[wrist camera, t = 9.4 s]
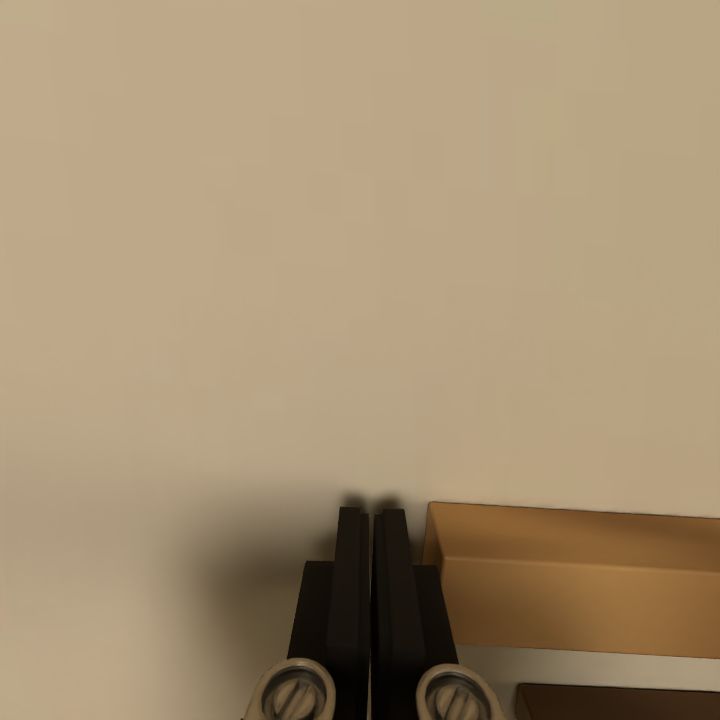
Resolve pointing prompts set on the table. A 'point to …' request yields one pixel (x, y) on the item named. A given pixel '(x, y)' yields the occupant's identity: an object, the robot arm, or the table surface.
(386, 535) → the robot arm
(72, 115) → the table surface
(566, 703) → the corner stop
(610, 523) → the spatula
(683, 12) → the table surface
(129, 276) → the table surface
